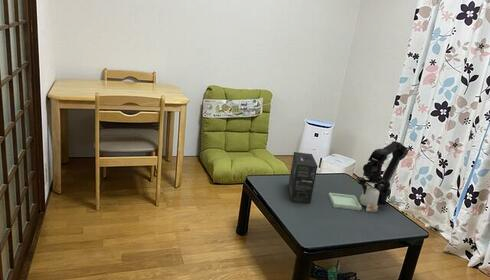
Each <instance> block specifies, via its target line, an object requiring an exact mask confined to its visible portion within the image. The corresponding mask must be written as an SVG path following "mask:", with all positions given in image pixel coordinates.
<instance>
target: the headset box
mask: <svg viewBox="0 0 490 280" xmlns="http://www.w3.org/2000/svg"><path fill="white" fill-rule="evenodd" d="M290 168H291V169H290V173H289V179H288V190H289V191H288V192H289V196H290V201H291V202H295V203H305V204H311V201H312V198H313V192H314V186H315V182H316V176H317V171H318V168H319V166H318V163H317V161H316V160H315V157H314V156H313V154H312V153H305V152H297V151H294V152H293V156H292V162H291V167H290Z"/></svg>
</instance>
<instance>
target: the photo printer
mask: <svg viewBox="0 0 490 280" xmlns="http://www.w3.org/2000/svg"><path fill="white" fill-rule="evenodd" d="M360 196H361V200H360V199H359V200H360V201H359V203H360V205H361V206H362V205H363V206H364V207H367V205H375V206H378V204H377V202H378V198H379V191H378V190H377V189H375V188H374V186H370V185H367V188H366V193H365V195H364V194H363V189H362V192H361V195H360Z"/></svg>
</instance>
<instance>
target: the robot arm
mask: <svg viewBox="0 0 490 280" xmlns="http://www.w3.org/2000/svg"><path fill="white" fill-rule="evenodd" d="M391 154H392V157H391V159H390V160H389V161H390V162H389V163H388V165H387V167H386V169H385V171H384V173H383V175H381V173H382V168H383V165H384V164H385V162H386V160H387V159H388V156H389V155H391ZM408 154H409V149H408V147H406V146H405V145H404V144H402V143H401V142H399V141H396V140H393V141H391V143H389V144H388V145H386V146H385V147H382V148H376V149H374V150H373V151H372V153H371V154H370V156H369V157H368V159H367V163H366V164H364V165H363V167H362V170H363V174H362V175H363V177H362V176H357V177H356V179H355V180H356V182H357V184H358V185H360V186H362V190H363V194H364V195H365V193H366V188H367V186H368V185H367V184H371V185H373V184H374V186H373V188H375V189H377V190H378V191H379V198H378V202H377V205H378V204H379V205H387V203H386V202H387V198H388V197H390V195H391V189H390V187H391V179H392V177H393V175H394V173H395V172H396V169H397V167H398V165H399V164H400V161H402V160H403V159H405V158H406V156H407V155H408ZM366 178H367V179H366Z"/></svg>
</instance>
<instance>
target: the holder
mask: <svg viewBox="0 0 490 280" xmlns="http://www.w3.org/2000/svg"><path fill="white" fill-rule="evenodd" d="M360 200H361V195H360V197H359V200H358V202H360ZM378 207H379V206H378V205H377V206H375V205H367V206H366V208H365V210H366V212H375V213H376V212H378Z"/></svg>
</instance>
